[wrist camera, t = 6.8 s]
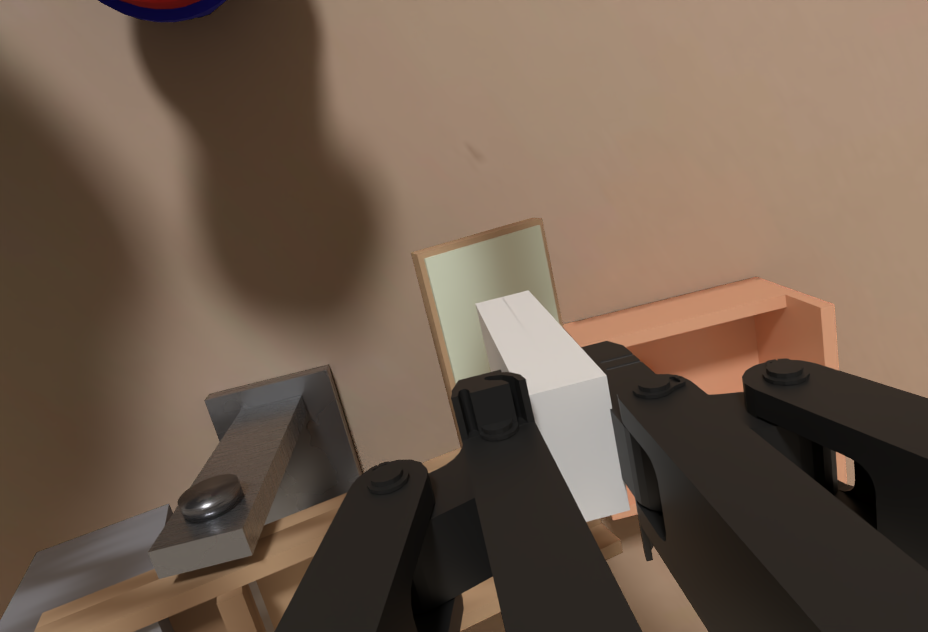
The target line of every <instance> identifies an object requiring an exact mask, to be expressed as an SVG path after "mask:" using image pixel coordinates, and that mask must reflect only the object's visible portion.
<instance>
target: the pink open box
mask: <svg viewBox="0 0 928 632" xmlns="http://www.w3.org/2000/svg"><path fill="white" fill-rule="evenodd" d="M563 328H564V330H565V331H566V332H567V333H568V334H569V335H570V336H571V337H572V338H573V339H574V340H575V342H576V343H577V344H578V345H579V346H580V347H584V346H588V345H592V344H596V343H600V342H604V341H610V342H613V343H617V344H620V345H624V346H625V347H626V348H627V349H628V350H629V351H630V352H632V353H633V355H635V356H636V357H637V358H638V359H640V362H643V363H644V364H645V365H646V366H647V367H649V368H650V369H651V370H652V371H653V372H654V373H655V374H672V375H678V376H682V377H684V378H686V379H688V380H690V381H692V382H693V383H694V384H696V385H697V386H698V387H699V388H700V389H702V390H703V391H704V392H705V393H707V394H708V395H711V394H725V393H736V392H744V391H743V382H742V376H743V374H744V373H745V371H746V370H747V369H749V368H751V367H753V366H754V365H757V364H761V363H764V362H766V361H768V360H773V359H776V360H778V359H783V358H787V359H790V360H802V361H807V362H812V363H817V364H820V365H823V366H826V367H829V368H833V369H836V370H839V361H838V347H837V333H836V319H835V305H834V304H832V303H829V302H826V301H824V300H821V299H818V298H815V297H812V296H809V295H807V294H804V293H801V292H798V291H795V290H793V289H790V288H787V287H784V286H781V285H778V284H776V283H773V282H770V281H767V280H764V279H761V278H759V277H753V278H749V279H745V280H741V281H737V282H733V283H729V284H725V285H721V286H717V287H713V288H709V289H705V290H701V291H697V292H692V293H688V294H684V295H680V296H676V297H672V298H668V299H664V300H660V301H656V302H652V303H648V304H644V305H640V306H636V307H632V308H628V309H624V310H620V311H616V312H612V313H608V314H604V315H600V316H596V317H591V318H587V319H583V320H579V321H575V322H571V323H567V324H563ZM836 462H837V477H838V480H839V481H841V482H843V483H845V484H847V473H846V459H845V456H844V455H842V454H840V453H838V452H836ZM626 489H627V495H628V501H629V506H630V510H629V511H625V512H622V513H618V514H614V515H610V516H611V518H612V520H617V519H621V518H625V517H629V516H633V515H637V514H638V513H637V507H636V501H635V497H634V496H633V494H632V493H631V491H630V490H629V488H628V487H627V485H626Z"/></svg>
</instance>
